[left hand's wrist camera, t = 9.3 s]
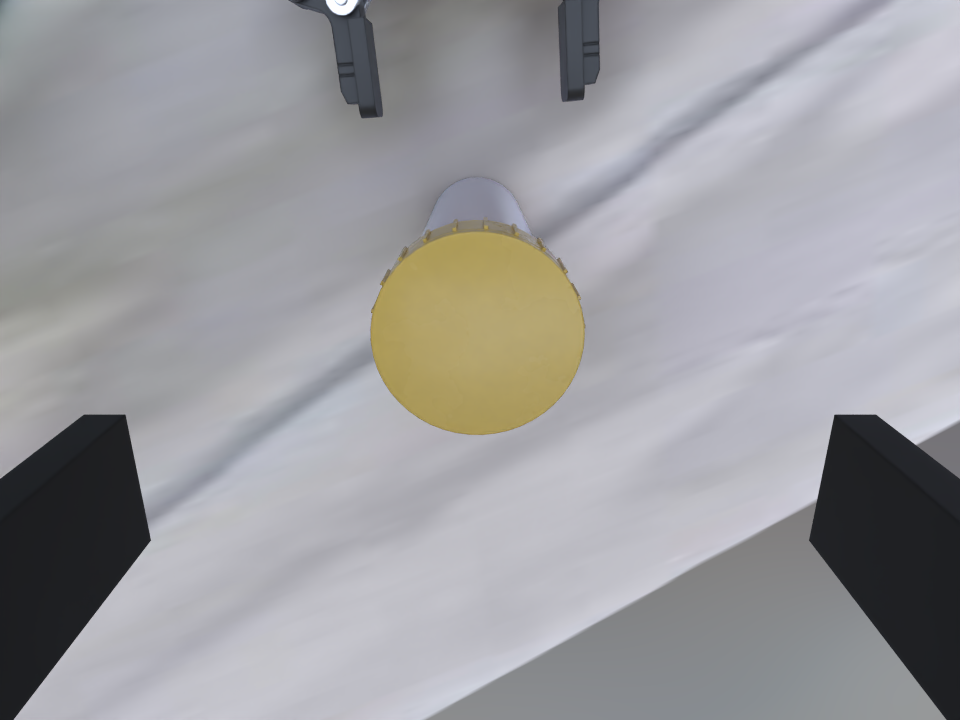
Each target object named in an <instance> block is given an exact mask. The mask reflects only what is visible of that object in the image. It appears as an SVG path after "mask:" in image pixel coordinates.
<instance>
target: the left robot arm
mask: <svg viewBox="0 0 960 720" xmlns="http://www.w3.org/2000/svg"><path fill="white" fill-rule="evenodd" d="M150 541H151V539H150V534H149V529H148V524H147V519H146V514H145V509H144V504H143V499H142V494H141V489H140V484H139V479H138V474H137V469H136V465H135V460H134V455H133V450H132V445H131V440H130V435H129V430H128V425H127V420H126V415H83V416H82V417H80V418H79V419H78V420H76V421H75V422H74V423H73V424H71V425H70V426H69V427H67V428H66V429H65V430H63V431H62V432H61V433H60V434H58V435H57V436H56V437H54V438H53V439H52V440H50V441H49V442H48V443H46V444H45V445H44V446H43V447H41V448H40V449H39V450H37V451H36V452H35V453H33V454H32V455H31V456H30V457H28V458H27V459H26V460H24V461H23V462H22V463H20V464H19V465H18V466H17V467H15V468H14V469H13V470H11V471H10V472H9V473H7V474H6V475H5V476H3V477H2V478H1V479H0V720H14V718H15V717H16V716H17V714H18V713H19V712H20V710H21V709H22V708H23V707H24V705H25V704H26V703H27V701H28V700H29V699H30V697H31V696H32V695H33V694H34V692H35V691H36V690H37V688H38V687H39V686H40V684H41V683H42V682H43V680H44V679H45V678H46V677H47V675H48V674H49V673H50V671H51V670H52V669H53V667H54V666H55V665H56V664H57V662H58V661H59V660H60V658H61V657H62V656H63V654H64V653H65V652H66V650H67V649H68V648H69V647H70V645H71V644H72V643H73V641H74V640H75V639H76V637H77V636H78V635H79V634H80V632H81V631H82V630H83V628H84V627H85V626H86V624H87V623H88V622H89V620H90V619H91V618H92V617H93V615H94V614H95V613H96V611H97V610H98V609H99V607H100V606H101V605H102V604H103V602H104V601H105V600H106V598H107V597H108V596H109V594H110V593H111V592H112V590H113V589H114V588H115V587H116V585H117V584H118V583H119V581H120V580H121V579H122V577H123V576H124V575H125V574H126V572H127V571H128V570H129V568H130V567H131V566H132V564H133V563H134V562H135V560H136V559H137V558H138V557H139V555H140V554H141V553H142V551H143V550H144V549H145V547H146V546H147V545H148V544H149V542H150ZM809 541H810V542H811V543H812V545H813V546H814V547H815V549H816V550H817V551H818V553H819V554H820V555H821V557H822V558H823V559H824V560H825V562H826V563H827V564H828V566H829V567H830V568H831V569H832V571H833V572H834V574H835V575H836V576H837V577H838V579H839V580H840V581H841V583H842V584H843V585H844V586H845V588H846V589H847V590H848V592H849V593H850V594H851V596H852V597H853V598H854V600H855V601H856V602H857V603H858V605H859V606H860V607H861V609H862V610H863V611H864V613H865V614H866V615H867V617H868V618H869V619H870V620H871V622H872V623H873V624H874V626H875V627H876V628H877V629H878V631H879V632H880V634H881V635H882V636H883V637H884V639H885V640H886V641H887V643H888V644H889V645H890V647H891V648H892V649H893V650H894V652H895V653H896V654H897V656H898V657H899V658H900V660H901V661H902V662H903V663H904V665H905V666H906V667H907V669H908V670H909V671H910V673H911V674H912V675H913V677H914V678H915V679H916V680H917V682H918V683H919V684H920V686H921V687H922V688H923V690H924V691H925V692H926V693H927V695H928V696H929V697H930V699H931V700H932V701H933V703H934V704H935V705H936V707H937V708H938V709H939V710H940V712H941V713H942V714H943V716H944V717H945V718H946V720H960V479H959V478H958V477H957V476H955V475H954V474H953V473H951V472H950V471H949V470H947V469H946V468H945V467H943V466H942V465H941V464H940V463H938V462H937V461H936V460H934V459H933V458H932V457H930V456H929V455H928V454H927V453H925V452H924V451H923V450H921V449H920V448H919V447H917V446H916V445H915V444H914V443H912V442H911V441H910V440H908V439H907V438H906V437H904V436H903V435H902V434H900V433H899V432H898V431H897V430H895V429H894V428H893V427H891V426H890V425H889V424H887V423H886V422H885V421H884V420H882V419H881V418H880V417H878V416H877V415H834V420H833V425H832V430H831V435H830V440H829V445H828V450H827V455H826V460H825V465H824V469H823V474H822V479H821V484H820V489H819V494H818V499H817V504H816V509H815V514H814V519H813V524H812V529H811V534H810V539H809Z"/></svg>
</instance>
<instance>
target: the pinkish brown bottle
mask: <svg viewBox="0 0 960 720" xmlns="http://www.w3.org/2000/svg"><path fill="white" fill-rule="evenodd" d="M484 217H487V219H488V220H490V221H496V222H501V223H504V224H508V225H511V226H512V224H513V223H514V224H516V225H517V228H518V229H521V230H523V231H525V232H527V233H528V234H530V235H531V236H532V233H531V231H530V229H529V227H528V225H527V222H526V220H525V218H524V216H523V214H522V211H521V209H520V207H519V205H518V203H517V201H516V199H515V198H514V196H513V195H512V193H511V192H510V191H509V190H508V189H507V188H505V187H504V186H503V185H501V184H500V183H498V182H496V181H494V180H491V179H488V178H482V177H472V178H466V179H462V180H460V181H457V182H456V183H454V184H452V185H451V186H449V187H448V188H447V189H446V190H445V191H444V192H443V193H442V194H441V196H440V197H439V199H438V200H437V202H436V204H435V207H434V209H433V211H432V213H431V216H430V218H429V220H428V223H427V225H426V227H425V229H424V232H423V234H422V236H423V235H425V232H426V230H428V229H430V231H432V230H434V229H436V228H439V227H442V226H444V225H447V224H450V223H453V221H454V220H455V219H458V222H459V221H466V220H483V218H484ZM422 236H421V237H422Z"/></svg>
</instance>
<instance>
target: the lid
mask: <svg viewBox="0 0 960 720" xmlns="http://www.w3.org/2000/svg"><path fill="white" fill-rule="evenodd" d="M567 272H568V271H567V269H566V268H565V266H564V264H563V263H562V261H561V259H560V258H558V259H556V257H555V256H554V255H553V254H552V253H551V252H550V251H549V249H548V248H547V247H546V246H545V245H544V243H543V241H542V239H541V238H538V239H536V238H535V237H533V236H531V235H530V234H528V233H527V232H525V231H523V230H521V229H518V228H517V225H516V224H514V223H513V224H512V226H511V225H508V224H504V223H501V222H496V221H490V220H488V219H487V217H484V218H483V220H466V221H459V222H458V219H455V220H454V221H453V223H450V224H447V225H444V226H442V227H439V228H436V229H434V230H432V231H430V229H428V230H426V232H425V235H423V236H422V237H421V238H419V239H418V240H417V241H415V242H414V243H413V244H412V245H411V246H410V247H409V248H407V247H406V246H405V247H404V248H403V250H402V252H401V254H400V256H399V257H398V260H397V261H396V263H395V265H394V266H393V268H392V270H389V269H388V271H387V273H386V274H385V276H384V278H383V280H382V282H381V283H380V285H382V288H381V290H380V292H379V295H378V297H377V300H376V302H375V304H374V306H373V308H372V310H371V313H373V314H372V321H371V346H372V352H373V357H374V360H375V363H376V366H377V369H378V371H379V373H380V376H381V378H382V380H383V382H384V383H385V385H386V386H387V388H388V389H389V391H390V392H391V393H392V395H393V396H394V397H395V398H396V399H397V400H398V402H399V403H401V404H402V405H403V406H404V407H405V408H406V409H407V410H408V411H410V412H411V413H412V414H414V415H415V416H417V417H418V418H419V419H421V420H423V421H425V422H427V423H429V424H431V425H433V426H436V427H438V428H441V429H443V430H447V431H451V432H455V433H461V434H469V435H485V434H495V433H500V432H504V431H508V430H511V429H514V428H517V427H520V426H522V425H524V424H526V423H528V422H530V421H532V420H534V419H535V418H537V417H538V416H540V415H542V414H543V413H544V412H546V411H547V410H548V409H549V408H550V407H551V406H553V405H554V404H555V403H556V402H557V400H558V399H559V398H560V397H561V396H562V395H563V394H564V392H565V391H566V389H567V388H568V387H569V385H570V384H571V382H572V380H573V378H574V376H575V374H576V372H577V369H578V367H579V364H580V361H581V357H582V353H583V348H584V337H585V330H584V328H585V324H584V318H583V313H582V308H581V305H580V302H579V300H580V299H581V298H580V295H579V293H578V292H577V290H576V288H575V286H574V284H573V283H571V282H570V280H569V279H568V277H567V275H566V273H567Z"/></svg>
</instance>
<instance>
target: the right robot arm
mask: <svg viewBox="0 0 960 720" xmlns="http://www.w3.org/2000/svg"><path fill="white" fill-rule="evenodd" d="M289 1H291V2H293V3H294V4H296V5H298V6H299V7H301V8H303V9H309V10H312V11H316V12H319V13H322V14H325V15H326V16H327V18H328V19H329V21H330V23H331V26H332V32H333V39H334V46H335V53H336V59H337V65H338V73H339V80H340V87H341V92H342V94H343V96H344V98H345V100H346V102H347V104H358V105H359V111H360V115H361V118H373V117H382V116H383V110H382V101H381V93H380V84H379V76H378V68H377V60H376V52H375V44H374V36H373V28H372V23H371V22H370V21H369V20H367V19H366V17H365V13H366V11H367V9H368V7H369V5H370V3H371V1H372V0H289ZM558 22H559V49H560V76H561V96H562V101H563V102H566V101H577V100H583V99H584V92H585V86H584V85H589V84H594V83H595V82H596V79H597V76H598V73H599V70H600V56H599V0H563V2H562V3H561V5H560V6H559V7H558Z"/></svg>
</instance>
